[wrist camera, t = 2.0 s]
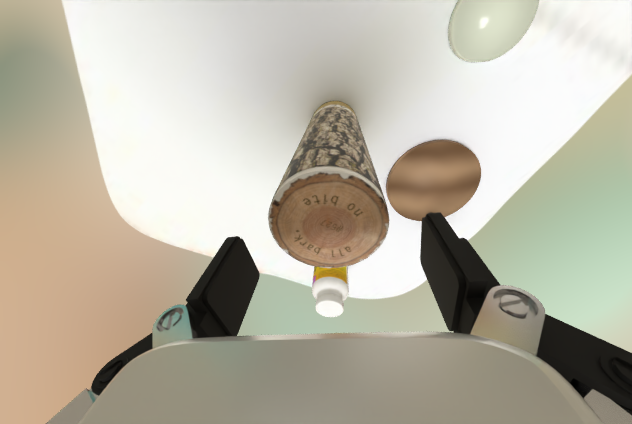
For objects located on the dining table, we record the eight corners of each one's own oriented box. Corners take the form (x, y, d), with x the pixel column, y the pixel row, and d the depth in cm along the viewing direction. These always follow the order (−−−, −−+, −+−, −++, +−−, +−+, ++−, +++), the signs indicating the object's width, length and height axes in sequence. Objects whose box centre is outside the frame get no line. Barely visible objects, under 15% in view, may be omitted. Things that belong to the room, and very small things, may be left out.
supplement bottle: (313, 243, 47) (306, 297, 36) (345, 241, 46) (347, 296, 35) (318, 266, 50) (313, 320, 40) (348, 264, 49) (350, 320, 39)
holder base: (384, 149, 35) (414, 206, 21) (484, 131, 32) (595, 182, 18) (387, 222, 42) (412, 299, 28) (469, 212, 40) (540, 292, 26)
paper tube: (343, 154, 36) (350, 281, 15) (304, 136, 35) (254, 244, 14) (366, 113, 32) (416, 204, 11) (323, 91, 31) (292, 146, 10)
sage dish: (452, -17, 24) (459, -22, 23) (537, -42, 23) (551, -49, 21) (445, 69, 29) (451, 69, 27) (516, 52, 27) (527, 52, 26)
